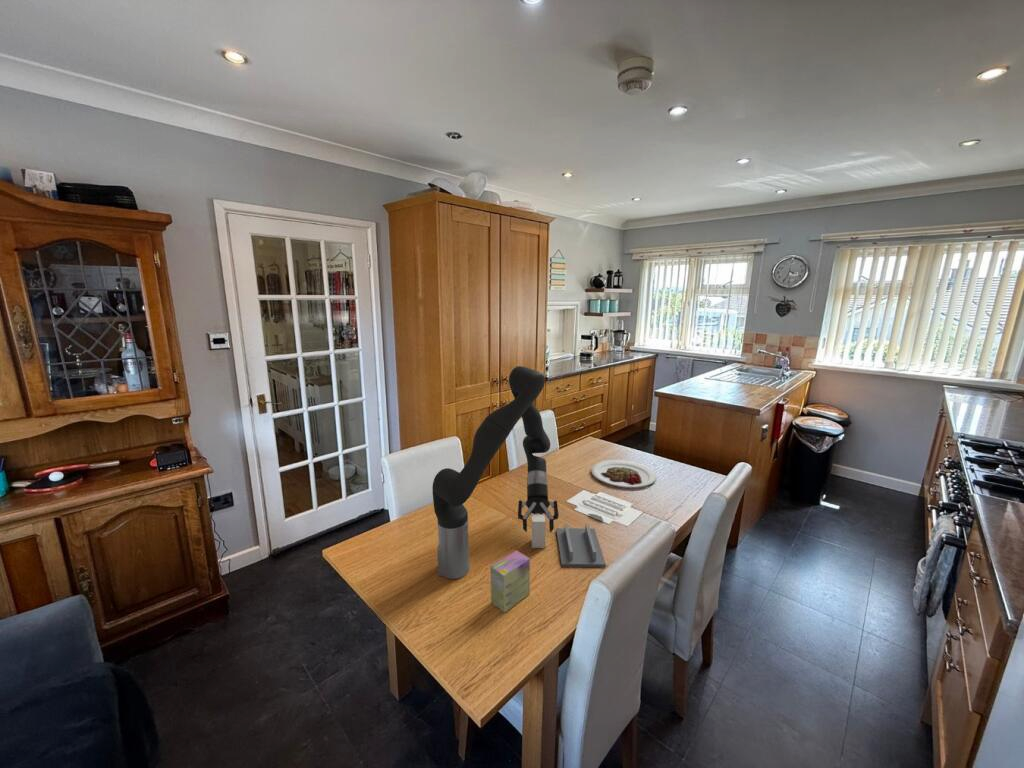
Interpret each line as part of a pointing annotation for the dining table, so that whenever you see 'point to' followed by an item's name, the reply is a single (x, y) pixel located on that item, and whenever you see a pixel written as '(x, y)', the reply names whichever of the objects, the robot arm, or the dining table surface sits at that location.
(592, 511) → the tray
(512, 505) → the dining table surface
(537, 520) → the block
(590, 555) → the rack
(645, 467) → the plated food
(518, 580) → the box
